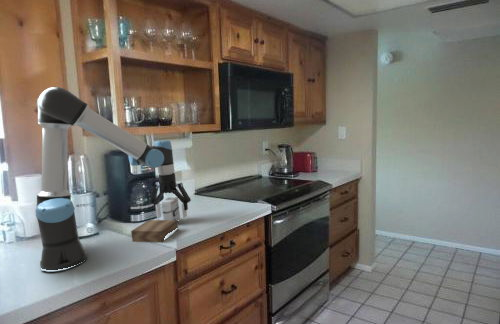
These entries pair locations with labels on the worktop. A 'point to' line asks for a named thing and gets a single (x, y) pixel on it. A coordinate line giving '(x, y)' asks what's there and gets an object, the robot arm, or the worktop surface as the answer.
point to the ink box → (171, 209)
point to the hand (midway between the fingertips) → (172, 217)
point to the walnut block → (153, 230)
